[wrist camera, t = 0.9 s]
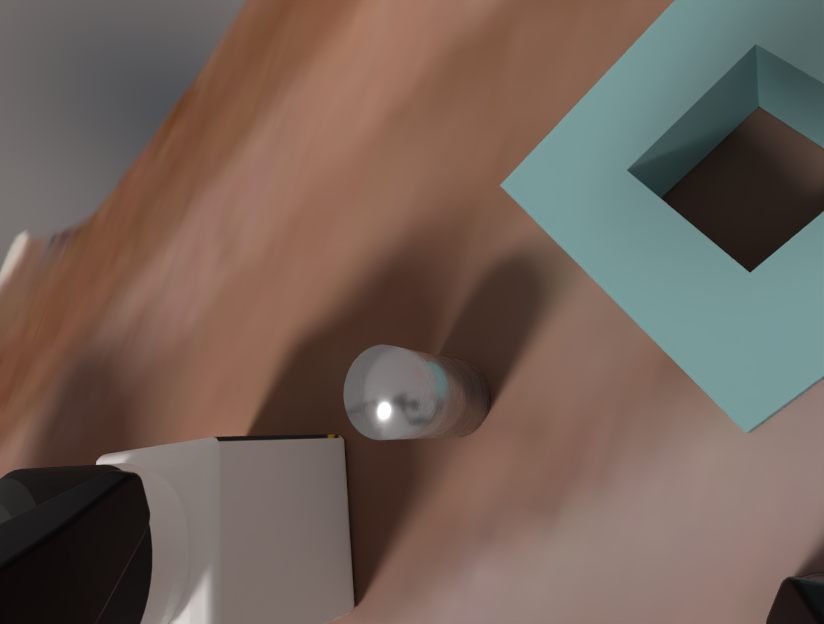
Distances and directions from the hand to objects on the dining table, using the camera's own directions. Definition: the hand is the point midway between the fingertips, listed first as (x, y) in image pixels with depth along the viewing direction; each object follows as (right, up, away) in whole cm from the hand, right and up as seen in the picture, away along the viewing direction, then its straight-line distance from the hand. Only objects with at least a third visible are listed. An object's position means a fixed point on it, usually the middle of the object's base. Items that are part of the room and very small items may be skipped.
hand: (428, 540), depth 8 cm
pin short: (+1, 0, +14) cm, 14 cm away
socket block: (+10, +7, +9) cm, 16 cm away
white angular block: (-6, -6, +18) cm, 19 cm away
